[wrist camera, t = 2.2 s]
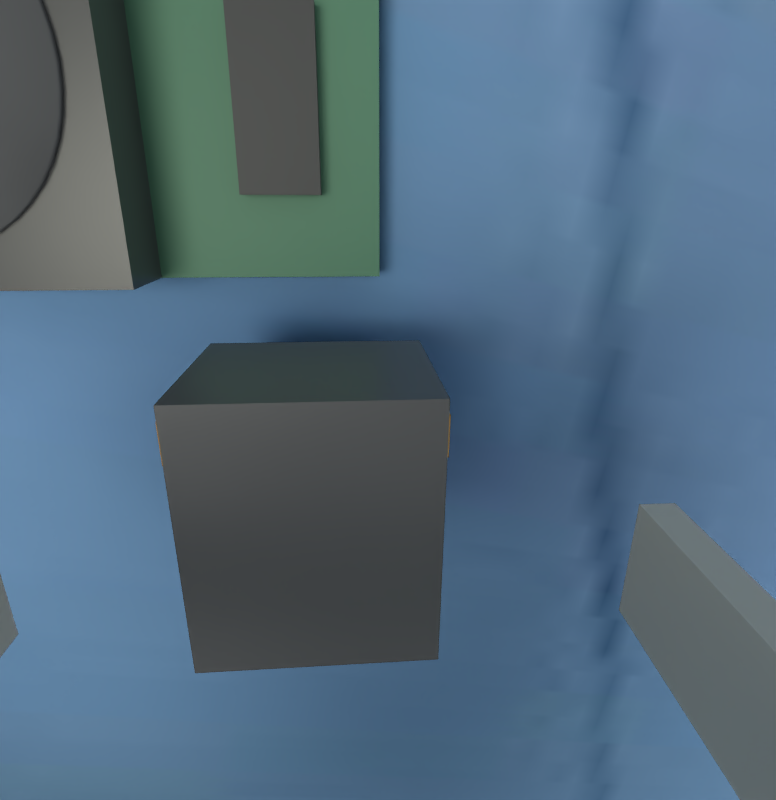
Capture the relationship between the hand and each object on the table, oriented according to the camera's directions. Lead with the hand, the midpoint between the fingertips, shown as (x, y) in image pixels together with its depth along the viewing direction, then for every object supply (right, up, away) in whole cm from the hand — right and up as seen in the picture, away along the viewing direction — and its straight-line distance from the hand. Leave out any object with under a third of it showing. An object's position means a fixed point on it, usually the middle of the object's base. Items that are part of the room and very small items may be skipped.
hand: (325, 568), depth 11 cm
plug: (-1, +3, +9) cm, 10 cm away
